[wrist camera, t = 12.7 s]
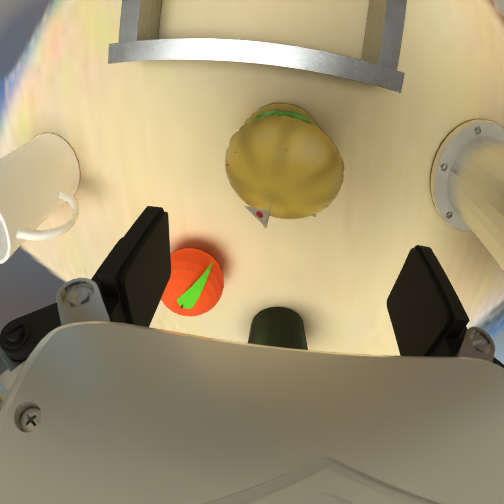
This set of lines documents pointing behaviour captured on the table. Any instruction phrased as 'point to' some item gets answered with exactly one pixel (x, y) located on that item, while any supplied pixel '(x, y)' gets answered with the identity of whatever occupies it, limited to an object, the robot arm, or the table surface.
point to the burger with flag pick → (283, 164)
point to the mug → (36, 190)
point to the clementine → (193, 282)
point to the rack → (269, 45)
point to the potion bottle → (278, 329)
